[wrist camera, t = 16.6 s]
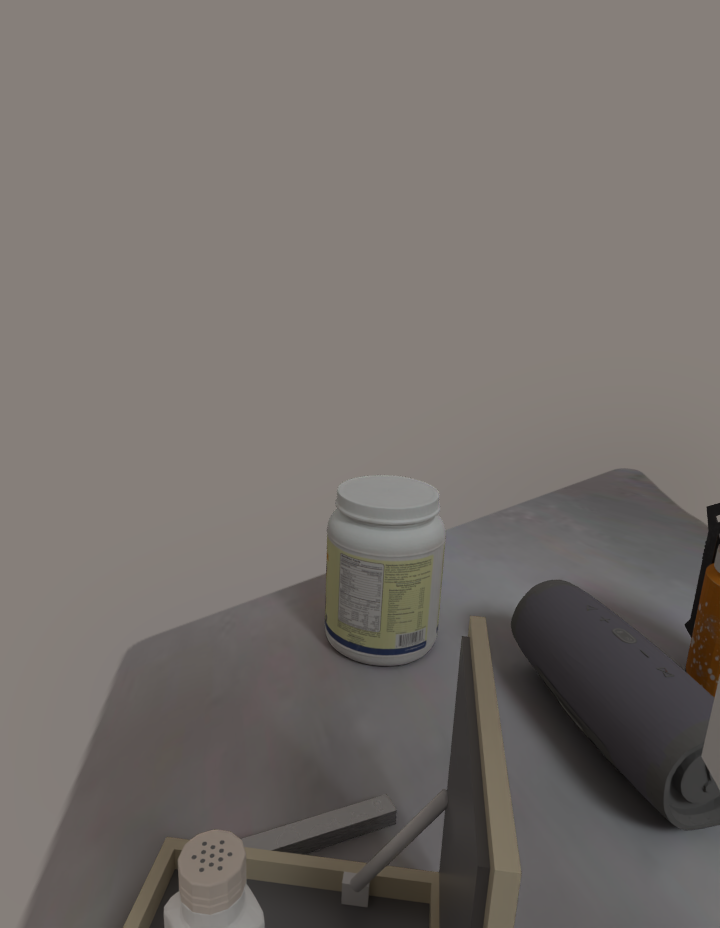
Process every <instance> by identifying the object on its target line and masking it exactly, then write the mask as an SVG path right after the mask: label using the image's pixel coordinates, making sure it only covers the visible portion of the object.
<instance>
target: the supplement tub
mask: <svg viewBox="0 0 720 928" xmlns="http://www.w3.org/2000/svg"><path fill="white" fill-rule="evenodd" d="M335 504H336V507H337V509H336V510H335V511H334V512H333V514H332V515H331V517H330V519H329V522H328V527H327V566H326V567H327V568H326V569H327V570H326V606H325V623H324V626H325V632H326V636H327V639H328V641H329V642H330V644H331V645H332V646H333V647H334V648H335V649H336V650H337V651H338V652H340V653H341V654H343V655H344V656H346V657H348V658H350V659H352V660H355V661H358V662H361V663H365V664H370V665H377V666H396V665H403V664H407V663H410V662H413V661H415V660H417V659H419V658H421V657H422V656H424V655H425V654H426V653H427V652H428V651H429V650H430V649H431V648H432V646H433V645H434V643H435V640H436V637H437V634H438V620H439V609H440V597H441V585H442V574H443V562H444V549H445V539H446V531H445V526H444V523H443V521H442V520H441V518H440V517H439V516H438V515H437V514H438V513H439V512H440V505H439V492H438V490H437V489H436V488H435V487H433V486H432V485H430V484H427V483H425V482H422V481H419V480H416V479H412V478H407V477H400V476H390V475H373V476H362V477H357V478H353V479H350V480H347V481H345V482H343V483H342V484H340V485H339V487H338V490H337V499H336V503H335Z"/></svg>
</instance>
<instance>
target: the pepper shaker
mask: <svg viewBox="0 0 720 928" xmlns="http://www.w3.org/2000/svg"><path fill="white" fill-rule="evenodd" d="M178 878H179V891H178V892H177V893H176V894H174V895H173V896H172V897H171V898H170V899H169V901H168V902H167V903H166V905H165V906H164V928H265V922H264V913H263V911H262V909H261V907H260V905H259V903H258V901H257V900H256V898H255V896H254V894H253V893H252V891H251V890H250V888H249V886H248V885H247V884H246V883H247V877H246V852H245V848H244V845H243V841H242V840H241V839H240V838H238V837H237V836H236V835H234V834H233V833H232V832H231V831H224V830H217V829H214V830H210V831H207V832H203V833H200V834H197V835H196V836H195V837H194V838H192V839H191V840H190V841H189V842H187V843H186V844H185V845H184V847H183V849H182V851H181V854H180V856H179V858H178Z"/></svg>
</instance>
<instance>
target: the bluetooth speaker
mask: <svg viewBox="0 0 720 928" xmlns="http://www.w3.org/2000/svg"><path fill="white" fill-rule="evenodd" d="M511 628H512V633H513V636H514V638H515V640H516V642H517V643H518V645H519V647H520V648H521V650H522V652H523V653H524V655H525V656H526V657H527V659H528V660H529V662H530V663H531V664H532V666H533V667H534V668H535V670H536V671H537V672H538V674H539V676H540V677H541V678H542V679H543V681H544V682H545V683H546V685H547V686H548V687H549V688H550V690H551V691H552V692H553V694H554V695H555V696H556V698H557V699H558V701H559V703H560V704H561V706H562V707H563V708H564V710H565V711H566V712H567V713H568V715H569V716H570V717H571V718H572V720H573V721H574V722H575V723H576V724H577V726H578V727H579V728H580V729H581V730H582V731H583V733H584V734H585V735H586V736H587V737H588V738H589V739H590V740H591V741H592V742H593V743H594V744H595V745H596V746H597V748H598V749H599V750H600V751H601V752H602V754H603V755H604V756H605V757H606V758H607V759H608V760H609V761H610V762H611V763H612V764H613V765H614V766H615V767H616V768H617V769H618V770H619V771H620V772H621V773H622V774H623V775H624V776H625V777H626V778H627V779H628V780H629V781H630V782H631V783H632V785H633V786H634V787H635V788H636V789H637V790H638V791H639V792H640V793H641V794H642V795H643V796H644V797H645V798H646V799H647V800H648V801H649V802H650V803H651V804H652V805H653V806H654V807H655V808H656V809H657V810H658V811H659V812H660V813H661V814H662V815H663V816H664V817H665V818H667V819H668V820H669V821H670V822H671V823H672V824H673V825H675V826H676V827H678V828H680V829H683V830H696V829H702V828H707V827H712V826H716V825H720V790H719V788H718V786H717V784H716V782H715V781H714V779H713V777H712V775H711V773H710V772H709V770H708V768H707V766H706V764H705V762H704V761H703V759H702V757H701V755H702V751H703V747H704V742H705V738H706V733H707V729H708V725H709V720H710V716H711V711H712V707H713V703H714V697H713V696H712V695H711V694H710V693H709V692H707V691H706V690H705V689H704V688H703V687H702V686H701V685H700V684H699V683H698V682H696V681H695V680H694V679H693V678H692V677H691V676H690V675H689V674H688V673H686V672H685V671H684V670H683V669H682V668H681V667H679V666H678V665H677V664H676V663H675V662H674V661H673V660H671V659H670V658H669V657H668V656H667V655H666V654H664V653H663V652H662V651H661V650H660V649H659V648H657V647H656V646H655V645H654V644H653V643H651V642H650V641H649V640H648V639H647V638H645V637H644V636H643V635H642V634H640V633H639V632H638V631H637V630H635V629H634V628H633V627H631V626H630V625H629V624H628V623H626V622H625V621H624V620H623V619H621V618H620V617H619V616H617V615H616V614H615V613H614V612H612V611H611V610H610V609H608V608H607V607H606V606H604V605H603V604H602V603H600V602H599V601H598V600H596V599H595V598H593V597H592V596H591V595H589V594H588V593H586V592H585V591H583V590H581V589H580V588H578V587H576V586H575V585H573V584H571V583H569V582H567V581H562V580H549V581H545V582H542V583H540V584H537V585H536V586H534V587H533V588H531V589H530V590H529V591H528V592H527V593H526V595H525V596H524V597H523V598H522V599H521V601H520V602H519V604H518V605H517V607H516V609H515V612H514V614H513V617H512V621H511Z"/></svg>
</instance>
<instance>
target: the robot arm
mask: <svg viewBox="0 0 720 928" xmlns="http://www.w3.org/2000/svg"><path fill="white" fill-rule="evenodd" d="M701 757H702V759H703V761H704V762H705V764H706V766H707V768H708V770H709V772H710V773H711V775H712V777H713V779H714V781H715V782H716V784H717V786H718V788H719V790H720V676H719V680H718V685H717V689H716V694H715V698H714V703H713V707H712V711H711V716H710V720H709V725H708V729H707V733H706V738H705V742H704V747H703V751H702V755H701Z"/></svg>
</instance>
